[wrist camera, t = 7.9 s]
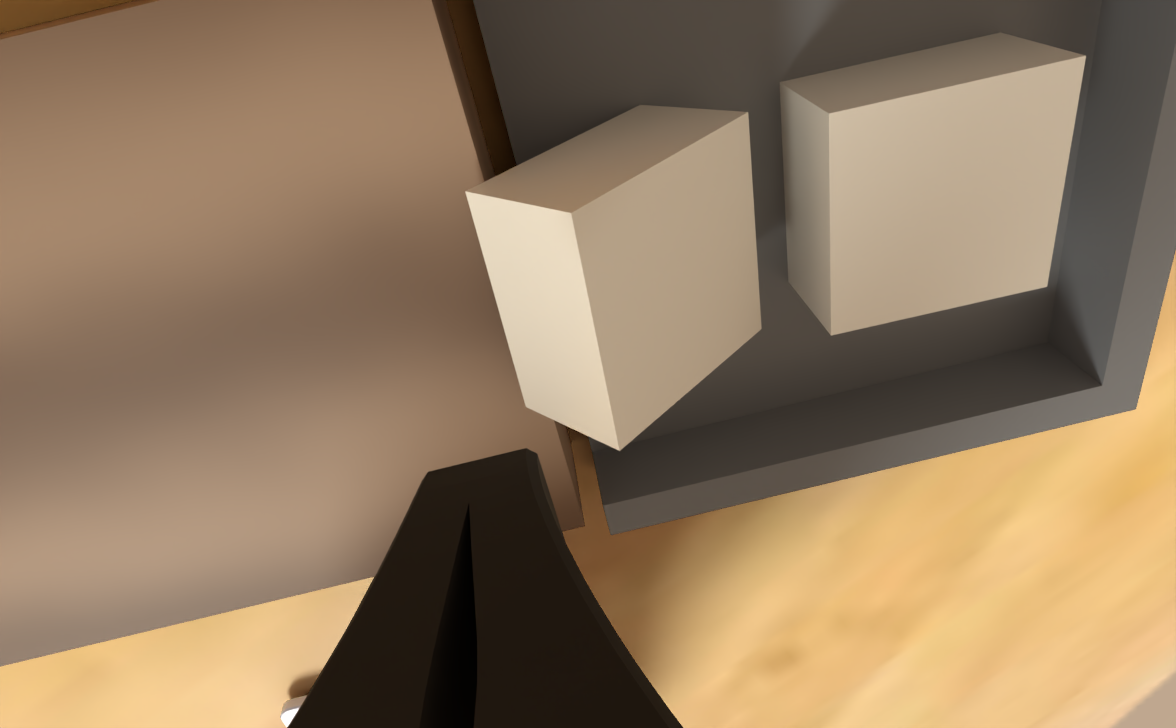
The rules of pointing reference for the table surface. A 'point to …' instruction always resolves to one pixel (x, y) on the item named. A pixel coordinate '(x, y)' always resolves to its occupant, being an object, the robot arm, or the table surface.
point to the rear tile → (926, 178)
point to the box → (789, 328)
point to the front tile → (624, 265)
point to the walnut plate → (236, 307)
